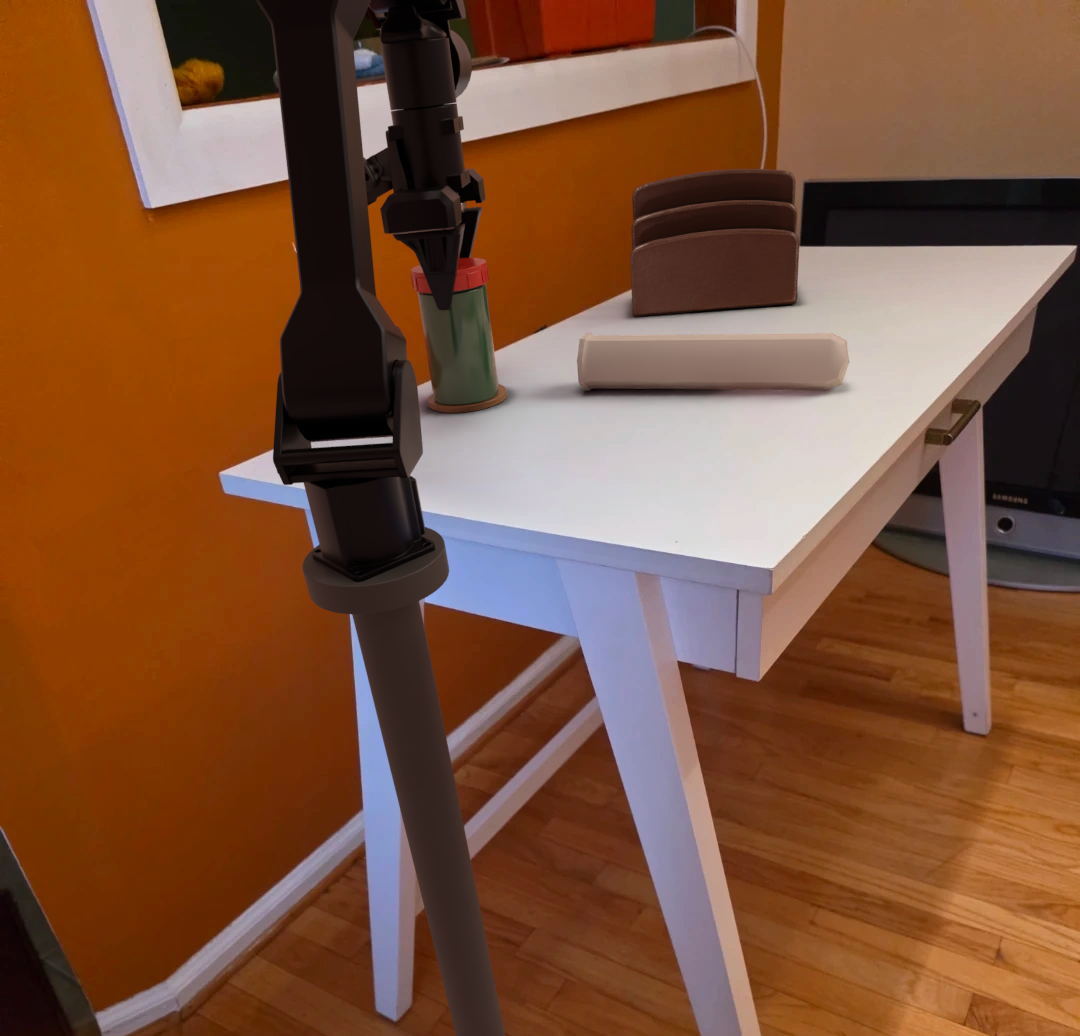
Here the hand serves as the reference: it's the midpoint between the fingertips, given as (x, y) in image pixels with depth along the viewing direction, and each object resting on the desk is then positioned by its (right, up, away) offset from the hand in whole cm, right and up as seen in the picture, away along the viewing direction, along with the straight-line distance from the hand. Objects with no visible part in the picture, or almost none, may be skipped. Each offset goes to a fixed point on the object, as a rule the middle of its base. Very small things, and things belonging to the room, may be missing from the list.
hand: (451, 301), depth 90 cm
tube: (+25, -8, +1) cm, 26 cm away
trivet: (+1, -8, +6) cm, 9 cm away
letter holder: (+30, +13, +29) cm, 44 cm away
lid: (0, +2, -2) cm, 3 cm away
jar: (+1, -7, +5) cm, 9 cm away
